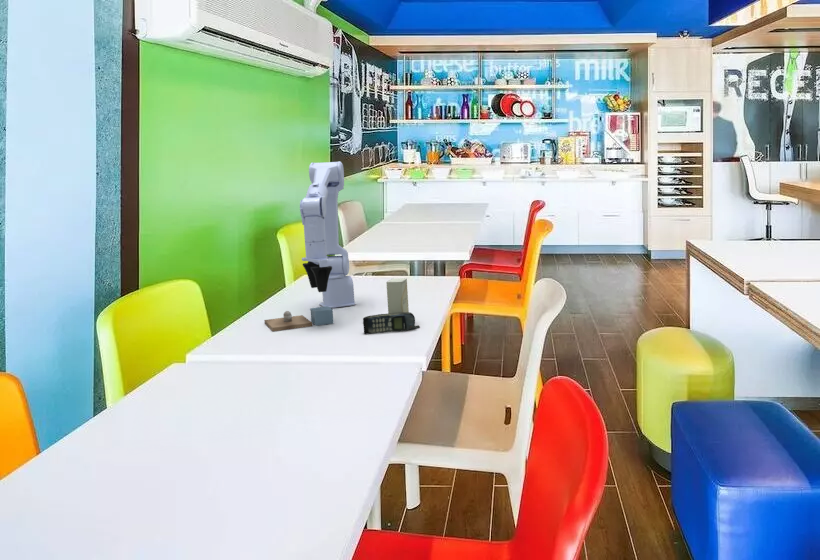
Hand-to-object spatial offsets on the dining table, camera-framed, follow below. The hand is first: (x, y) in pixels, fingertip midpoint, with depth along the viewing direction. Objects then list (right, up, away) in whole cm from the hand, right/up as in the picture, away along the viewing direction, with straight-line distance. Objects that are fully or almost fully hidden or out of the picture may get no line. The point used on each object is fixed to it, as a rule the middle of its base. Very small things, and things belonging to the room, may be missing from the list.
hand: (318, 289), depth 206 cm
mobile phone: (+21, -11, -11) cm, 26 cm away
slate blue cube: (+1, -9, +1) cm, 9 cm away
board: (-9, -10, +1) cm, 13 cm away
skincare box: (+22, -9, -4) cm, 25 cm away
